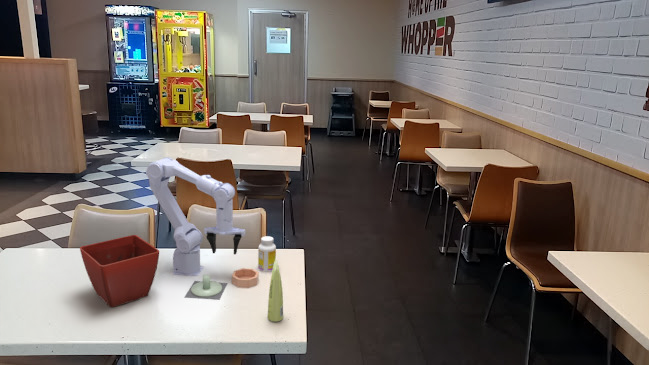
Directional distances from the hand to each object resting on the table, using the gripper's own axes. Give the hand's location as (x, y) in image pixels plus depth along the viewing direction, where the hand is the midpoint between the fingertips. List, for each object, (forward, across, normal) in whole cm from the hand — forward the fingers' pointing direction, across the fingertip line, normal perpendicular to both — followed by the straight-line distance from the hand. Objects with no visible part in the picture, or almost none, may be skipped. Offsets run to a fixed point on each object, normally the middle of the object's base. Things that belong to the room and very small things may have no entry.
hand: (224, 252), depth 179 cm
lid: (+9, -4, -11) cm, 15 cm away
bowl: (+10, +8, -3) cm, 13 cm away
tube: (+10, +22, -25) cm, 35 cm away
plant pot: (+10, -31, -17) cm, 37 cm away
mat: (+10, -4, -11) cm, 15 cm away
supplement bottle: (+10, +14, +9) cm, 20 cm away
